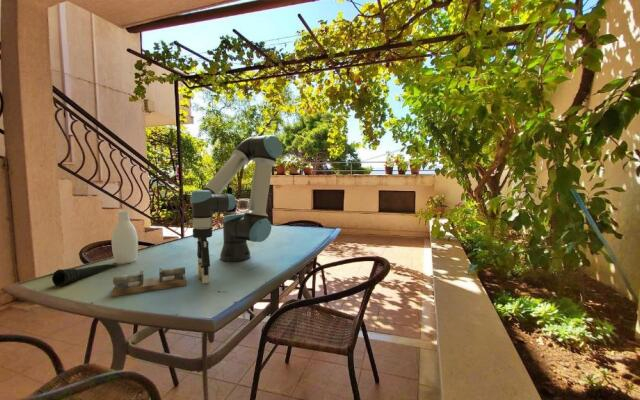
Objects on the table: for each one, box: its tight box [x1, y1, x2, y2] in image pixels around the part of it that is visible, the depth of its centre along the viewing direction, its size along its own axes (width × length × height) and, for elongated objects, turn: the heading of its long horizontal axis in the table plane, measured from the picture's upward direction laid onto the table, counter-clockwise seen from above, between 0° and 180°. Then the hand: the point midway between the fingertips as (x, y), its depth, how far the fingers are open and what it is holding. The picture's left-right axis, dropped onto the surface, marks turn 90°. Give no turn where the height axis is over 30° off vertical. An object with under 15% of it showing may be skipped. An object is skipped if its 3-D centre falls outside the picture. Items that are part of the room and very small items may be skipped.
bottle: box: [110, 209, 139, 265], centre depth 148 cm, size 11×11×25 cm
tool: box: [51, 263, 119, 287], centre depth 128 cm, size 28×6×7 cm, turn 168°
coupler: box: [197, 262, 207, 281], centre depth 125 cm, size 4×4×7 cm
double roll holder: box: [111, 266, 188, 297], centre depth 115 cm, size 24×9×6 cm, turn 118°
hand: (203, 277), depth 125 cm, fingers open, 13 cm apart
